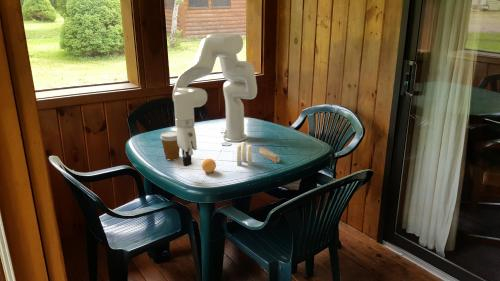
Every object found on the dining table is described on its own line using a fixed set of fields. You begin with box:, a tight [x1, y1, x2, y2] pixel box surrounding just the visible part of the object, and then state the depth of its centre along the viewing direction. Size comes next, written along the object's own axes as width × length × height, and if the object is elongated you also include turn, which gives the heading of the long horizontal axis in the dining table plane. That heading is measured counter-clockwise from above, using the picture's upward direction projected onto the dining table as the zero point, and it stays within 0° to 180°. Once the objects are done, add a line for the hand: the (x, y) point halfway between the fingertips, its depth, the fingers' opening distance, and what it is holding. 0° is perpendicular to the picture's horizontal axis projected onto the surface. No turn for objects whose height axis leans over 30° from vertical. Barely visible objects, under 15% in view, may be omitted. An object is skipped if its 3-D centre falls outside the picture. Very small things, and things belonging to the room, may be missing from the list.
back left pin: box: [241, 141, 247, 163], centre depth 185 cm, size 2×2×9 cm
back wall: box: [258, 146, 280, 164], centre depth 189 cm, size 2×14×3 cm, turn 31°
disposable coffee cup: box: [159, 130, 181, 161], centre depth 189 cm, size 10×10×12 cm
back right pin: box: [246, 144, 253, 167], centre depth 181 cm, size 2×2×9 cm
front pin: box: [236, 144, 243, 167], centre depth 181 cm, size 2×2×9 cm
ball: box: [201, 158, 217, 174], centre depth 174 cm, size 6×6×6 cm
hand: (187, 164), depth 168 cm, fingers closed
